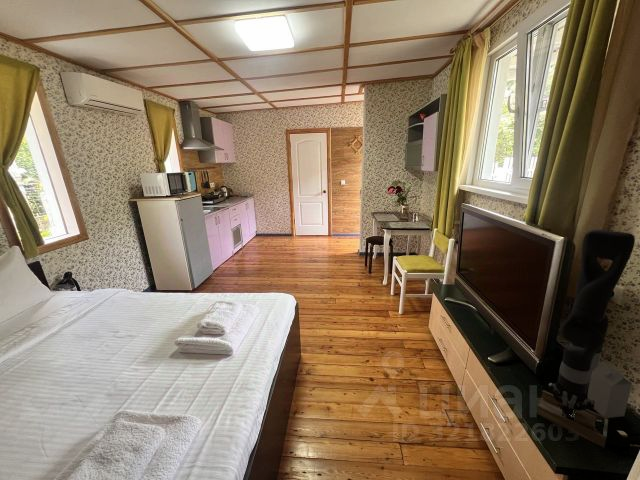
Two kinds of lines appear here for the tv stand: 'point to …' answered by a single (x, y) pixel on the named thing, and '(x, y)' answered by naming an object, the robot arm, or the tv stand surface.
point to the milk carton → (609, 391)
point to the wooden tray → (554, 414)
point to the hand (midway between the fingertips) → (566, 413)
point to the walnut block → (585, 419)
